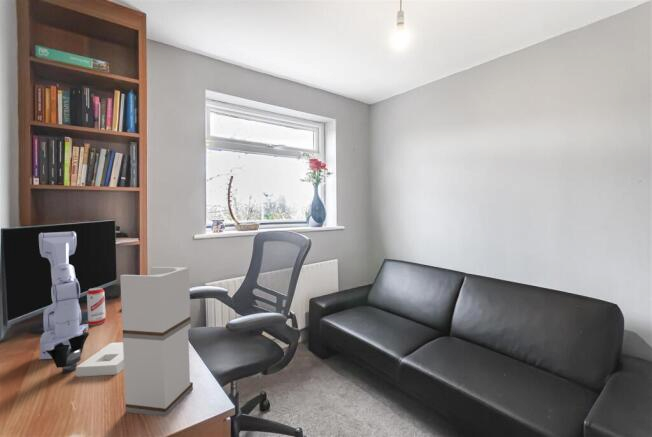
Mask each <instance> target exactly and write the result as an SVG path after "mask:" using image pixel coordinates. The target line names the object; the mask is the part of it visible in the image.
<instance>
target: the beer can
mask: <svg viewBox="0 0 652 437" xmlns="http://www.w3.org/2000/svg"><path fill="white" fill-rule="evenodd" d="M103 288H104V287H103V286H100V287H93V288H89V289H88V291H87V293H86V301H87V302H86V304H87V306H86V307H87V322H88V323H87V324H88V326H92V325H93V326H98V324H99V325H101V324H102V325H103V324H104V323H103V322H106V319H107V318H106V317H107V314H106V297H105V295H106V294H105V290H104V289H103Z"/></svg>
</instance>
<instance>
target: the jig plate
mask: <svg viewBox="0 0 652 437" xmlns="http://www.w3.org/2000/svg"><path fill="white" fill-rule="evenodd" d="M122 371H124V354H123V341H121V342H120V341H119V342H110V343H108V344H107V345H106V346H104V347H102V349H100V350H98V351H97V352H95V353H94V354H92V355H91V356H90V357H88V358H86V360H84V361H83V362H81V363H80V364H78V365H77V367H76V370H75V377H76V378H79V377H80V378H81V377H94V376H95V377H96V376H110V375H111V376H113V375H118V374H120V372H122Z"/></svg>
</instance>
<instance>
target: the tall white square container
mask: <svg viewBox="0 0 652 437" xmlns="http://www.w3.org/2000/svg"><path fill="white" fill-rule="evenodd" d="M119 276H120V277H119V279H120V300H121V305H120V306H121V327H122V328H121V329H122V342H123V354H124V369H123V375H124V378H123V379H124V397H125V398H124V399H125V412H126V413H133V414H134V413H135V414H142V415H151V416H155V417H163V418H164V417H167V416H168V415H169V414H170V413H171V412H172V411H173V410H174V409H175V408H176V407H177V406H178V405H179V404H180V403H181V402H182V401H183V400H185V398H186V397H187V396H188V395H189V394H190V393H191V392H192V391H193V390H194V389H193V388H194V386H193V382H191V378H190V377H191V376H190V375H191V373H190V351H189V350H190V346H189V343H190V342H189V340H190V339H189V330H191V329H192V325H191V324H192V323H191V296H190V295H191V294H190V291H191V290H190V288H191V287H190V267H182V266H181V267H180V266H179V267H178V266H175V267H174V266H151V267H150V274H147V275H145V274H138V275H137V274H121V275H119Z"/></svg>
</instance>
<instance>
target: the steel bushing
mask: <svg viewBox="0 0 652 437" xmlns="http://www.w3.org/2000/svg"><path fill="white" fill-rule="evenodd" d="M81 357H82V353H80V348H71V349H68V351H67V356H66V366H65V367H61V370H62V374H70V373H73V372H74V371H75V372H76V367H77V366H78V365H77V364H78V363H79V362H80V361H81V359H82V358H81Z"/></svg>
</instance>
